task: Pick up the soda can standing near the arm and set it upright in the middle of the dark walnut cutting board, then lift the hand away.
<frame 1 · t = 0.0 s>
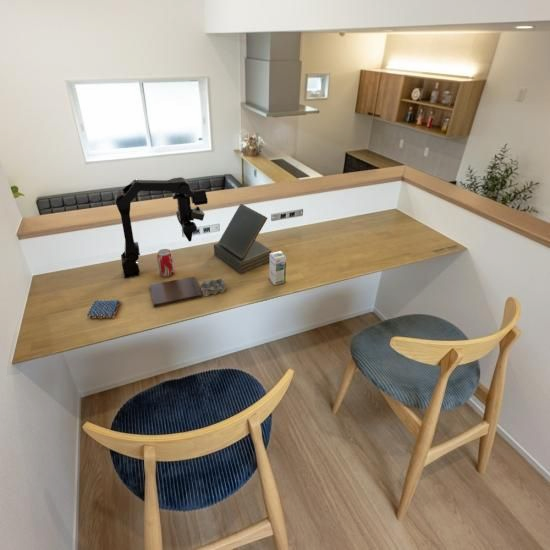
hand: (188, 236, 173), 15 cm above the countertop, tool pointing down, fingers open, 9 cm apart
egg carton: (213, 290, 163), on the countertop
soda can: (167, 274, 173), on the countertop
woven mat: (105, 311, 149), on the countertop
milk carton: (277, 281, 171), on the countertop
cutting board: (175, 292, 161), on the countertop
dark grey display stand: (242, 258, 187), on the countertop
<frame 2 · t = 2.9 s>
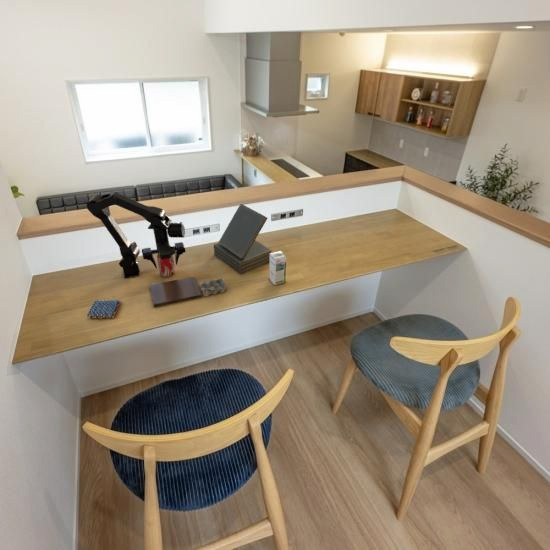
hand: (166, 266, 170), 4 cm above the countertop, tool pointing down
soda can: (167, 274, 173), on the countertop, touching gripper
everything else where it was.
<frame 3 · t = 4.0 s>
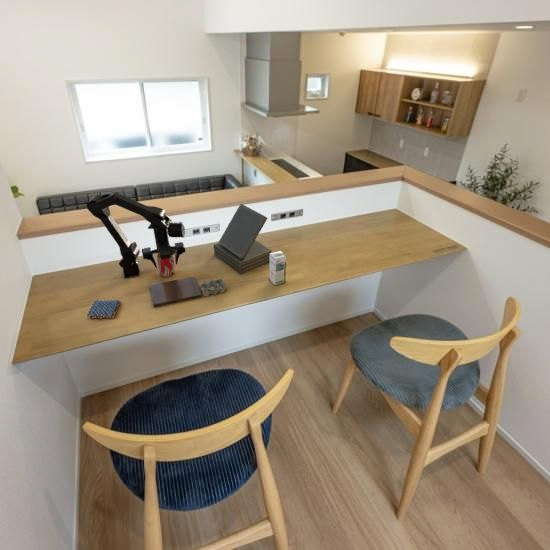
hand: (166, 266, 170), 4 cm above the countertop, tool pointing down
soda can: (167, 274, 173), on the countertop, touching gripper
everything else where it was.
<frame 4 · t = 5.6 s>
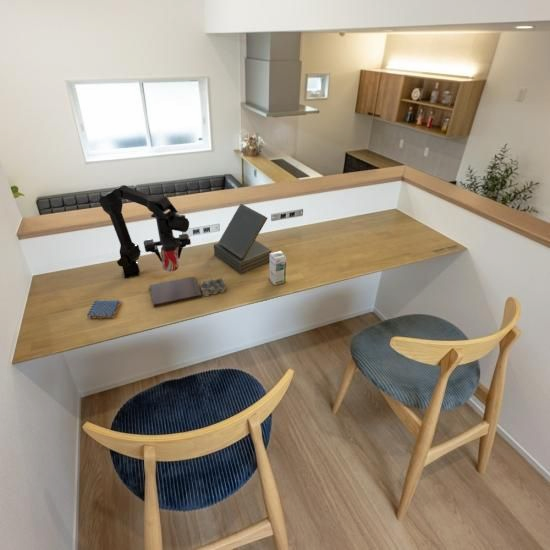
hand: (170, 259, 159), 13 cm above the countertop, tool pointing down, fingers closed on soda can, 7 cm apart
soda can: (170, 268, 161), point 8 cm above the countertop, touching gripper
everything else where it was.
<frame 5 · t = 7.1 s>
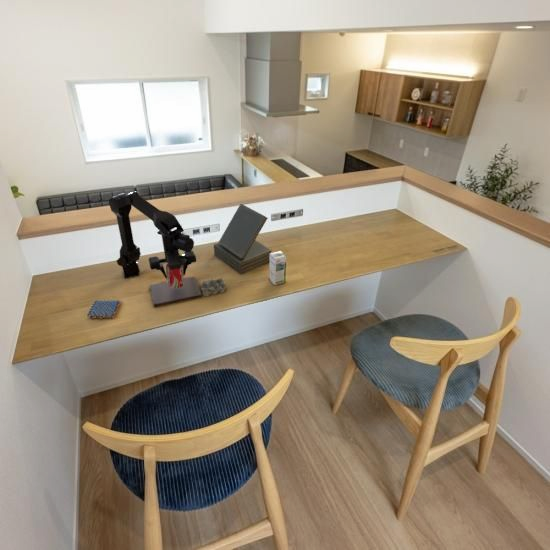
hand: (175, 276, 157), 8 cm above the countertop, tool pointing down, fingers closed on soda can, 7 cm apart
soda can: (175, 285, 159), point 3 cm above the countertop, touching gripper
everything else where it was.
when the fingers open (6 cm above the countertop, at t = 8.1 s): soda can stays where it is, resting on cutting board.
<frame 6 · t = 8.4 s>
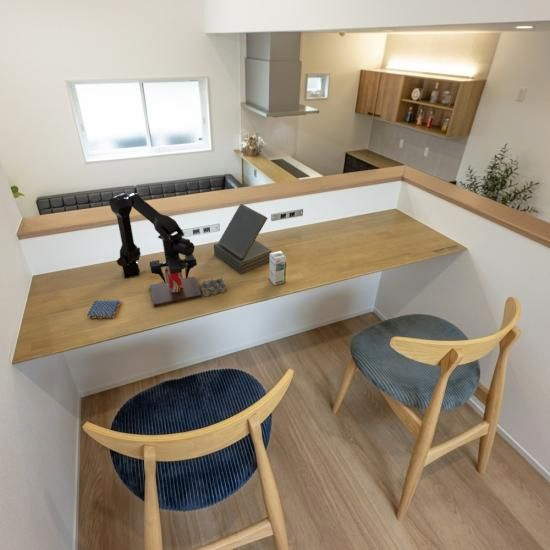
hand: (175, 280, 158), 6 cm above the countertop, tool pointing down, fingers open, 9 cm apart
soda can: (176, 289, 160), point 1 cm above the countertop, touching cutting board
everything else where it was.
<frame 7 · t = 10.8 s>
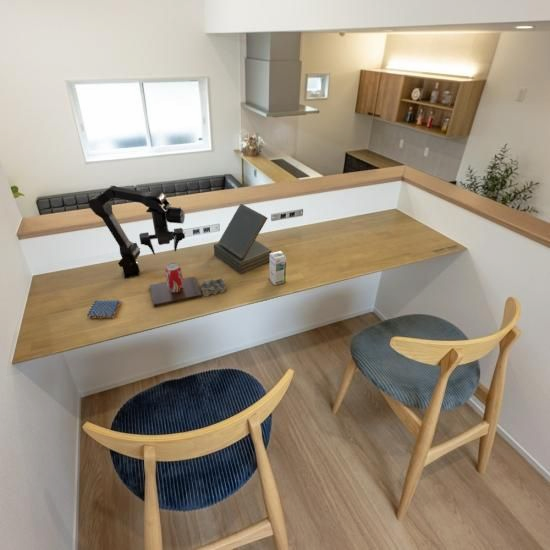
hand: (164, 252, 164), 13 cm above the countertop, tool pointing down, fingers open, 9 cm apart
nothing on the countertop moved.
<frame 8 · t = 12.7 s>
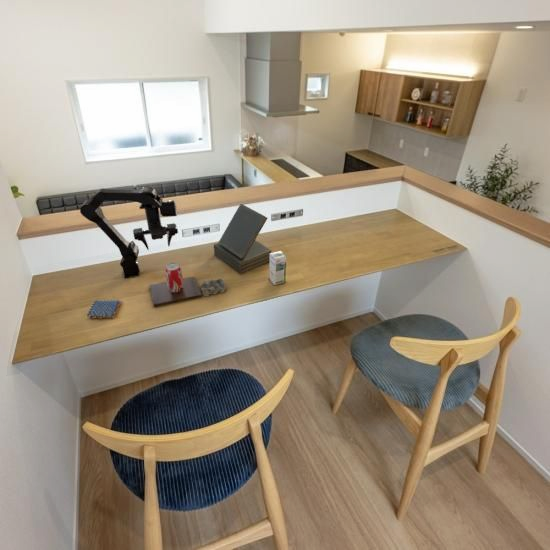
hand: (158, 247, 167), 13 cm above the countertop, tool pointing down, fingers open, 9 cm apart
nothing on the countertop moved.
at the end: soda can inside the target area on the cutting board (0.6 cm from its centre), point 1.3 cm above the cutting board's base; soda can tilted 0°; the gripper is holding nothing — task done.
